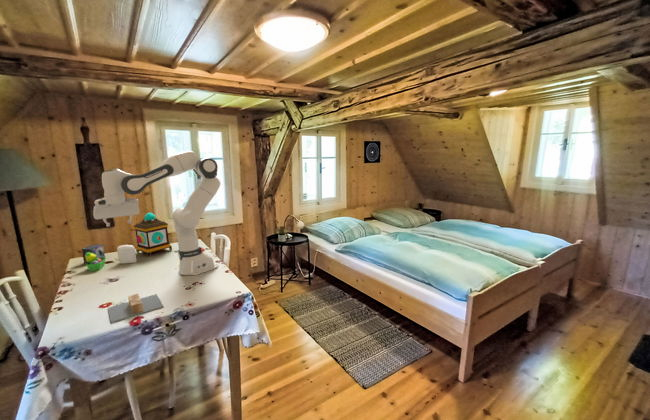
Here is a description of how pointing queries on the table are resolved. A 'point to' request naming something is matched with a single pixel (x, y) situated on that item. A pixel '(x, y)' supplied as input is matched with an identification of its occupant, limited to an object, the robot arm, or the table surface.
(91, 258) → the fruit basket
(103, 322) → the table surface
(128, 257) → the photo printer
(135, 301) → the oak post
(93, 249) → the small box
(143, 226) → the decorative lantern
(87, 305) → the table surface
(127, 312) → the slate mat
